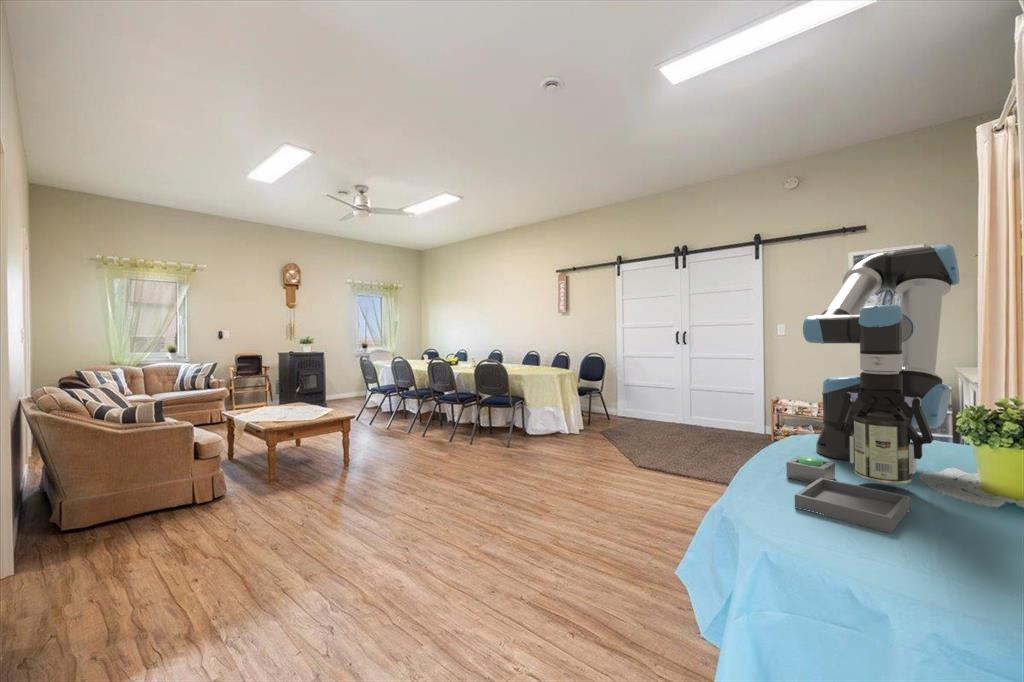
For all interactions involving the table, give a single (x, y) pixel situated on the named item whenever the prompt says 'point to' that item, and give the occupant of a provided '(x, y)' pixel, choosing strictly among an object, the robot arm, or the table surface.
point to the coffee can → (882, 448)
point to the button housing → (809, 470)
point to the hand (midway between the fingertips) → (881, 466)
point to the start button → (811, 461)
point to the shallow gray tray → (854, 504)
